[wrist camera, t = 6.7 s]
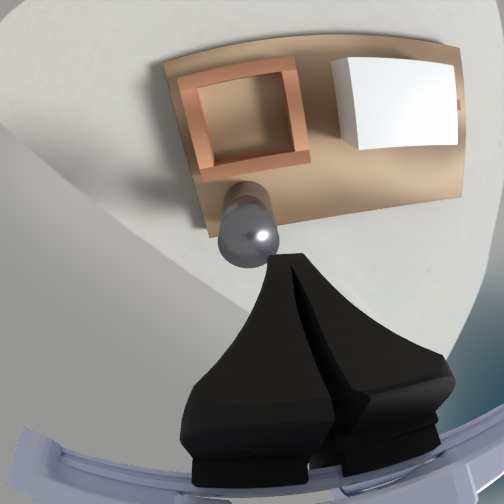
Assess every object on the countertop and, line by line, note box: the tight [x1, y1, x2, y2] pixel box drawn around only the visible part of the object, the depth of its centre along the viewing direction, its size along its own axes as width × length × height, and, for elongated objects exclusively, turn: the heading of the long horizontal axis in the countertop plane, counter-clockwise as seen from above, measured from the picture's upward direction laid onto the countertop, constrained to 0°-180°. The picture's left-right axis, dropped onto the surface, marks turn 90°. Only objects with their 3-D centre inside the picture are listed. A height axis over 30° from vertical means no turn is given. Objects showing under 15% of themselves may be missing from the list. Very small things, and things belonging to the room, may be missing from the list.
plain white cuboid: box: [330, 57, 458, 150], centre depth 13 cm, size 5×7×3 cm
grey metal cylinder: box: [218, 181, 279, 268], centre depth 16 cm, size 3×3×5 cm
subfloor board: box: [163, 35, 466, 238], centre depth 15 cm, size 12×20×2 cm, turn 101°
